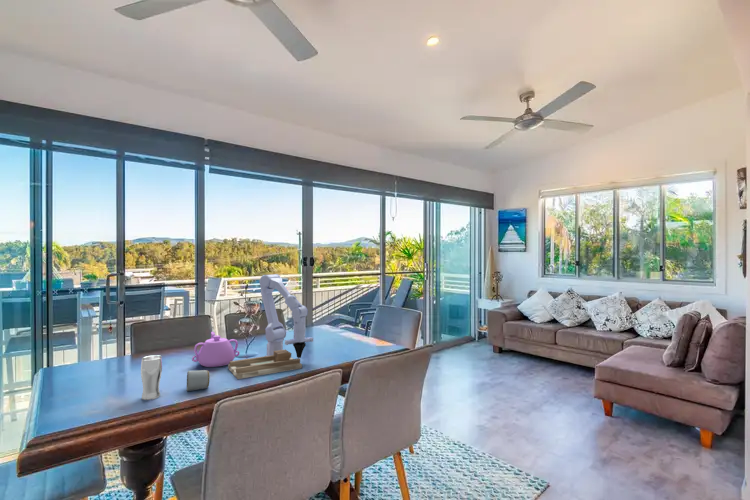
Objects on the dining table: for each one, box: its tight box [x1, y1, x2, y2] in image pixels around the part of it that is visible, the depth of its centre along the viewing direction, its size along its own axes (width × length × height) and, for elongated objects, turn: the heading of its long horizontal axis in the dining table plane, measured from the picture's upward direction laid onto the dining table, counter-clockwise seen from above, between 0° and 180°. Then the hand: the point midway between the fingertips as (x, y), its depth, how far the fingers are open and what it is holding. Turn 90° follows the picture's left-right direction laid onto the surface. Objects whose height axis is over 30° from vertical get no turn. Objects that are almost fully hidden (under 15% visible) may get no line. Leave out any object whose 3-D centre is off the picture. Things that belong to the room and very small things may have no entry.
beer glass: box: [140, 354, 163, 401], centre depth 144 cm, size 7×7×15 cm
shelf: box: [227, 352, 303, 380], centre depth 181 cm, size 17×30×4 cm, turn 124°
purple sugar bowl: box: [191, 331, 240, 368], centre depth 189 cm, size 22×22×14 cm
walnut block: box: [273, 349, 291, 362], centre depth 186 cm, size 6×6×5 cm
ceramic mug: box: [186, 369, 211, 392], centre depth 155 cm, size 11×8×8 cm
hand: (298, 357), depth 191 cm, fingers closed
